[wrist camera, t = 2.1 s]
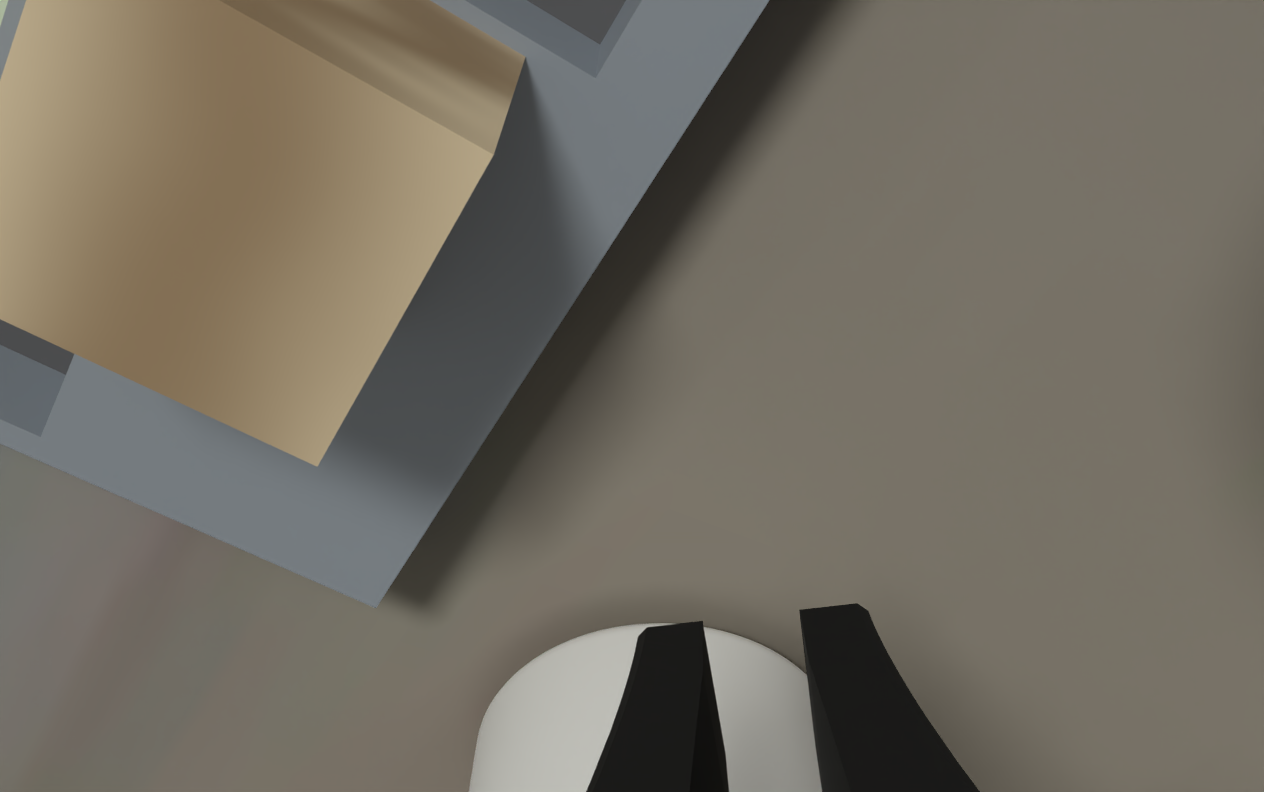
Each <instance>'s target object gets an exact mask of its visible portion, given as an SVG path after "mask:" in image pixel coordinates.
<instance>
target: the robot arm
mask: <svg viewBox="0 0 1264 792" xmlns="http://www.w3.org/2000/svg"><path fill="white" fill-rule="evenodd" d="M799 611H800V619H801V628H802V636H803V645H804V653H805V662H806V671H807V679H808V688H809V696H810V705H811V713H812V722H813V731H814V739H815V747H816V754H817V761H818V767H819V774H820V781H821V788H822V792H980V791H979V790H978V789H977V787H976V786H975V785H974V783H973V782H972V781H971V779H970V778H969V777H968V775H967V774H966V773H965V771H964V770H963V769H962V767H961V766H960V765H959V763H958V762H957V761H956V759H955V758H954V756H953V755H952V753H951V752H950V750H949V749H948V748H947V746H946V745H945V743H944V742H943V740H942V739H941V738H940V736H939V735H938V733H937V732H936V730H935V729H934V727H933V726H932V725H931V723H930V722H929V720H928V719H927V717H926V716H925V714H924V713H923V711H922V710H921V708H920V707H919V705H918V703H917V702H916V700H915V699H914V697H913V696H912V694H911V692H910V691H909V689H908V687H907V686H906V684H905V682H904V681H903V679H902V677H901V676H900V674H899V672H898V671H897V669H896V667H895V665H894V664H893V662H892V660H891V658H890V656H889V655H888V653H887V651H886V649H885V647H884V645H883V643H882V641H881V639H880V637H879V635H878V633H877V631H876V629H875V627H874V624H873V622H872V620H871V617H870V614H869V612H868V610H866V609H865V608H863V607H862V606H860V605H859V604H848V605H839V606H830V607H821V608H812V609H804V610H799ZM586 792H729V785H728V775H727V764H726V753H725V747H724V742H723V736H722V730H721V724H720V719H719V713H718V707H717V701H716V696H715V690H714V684H713V678H712V673H711V667H710V661H709V655H708V650H707V644H706V638H705V632H704V627H703V621H698V622H689V623H680V624H672V625H663V626H654V627H647V628H646V629H645V630H644V631H643V632H642V633H641V634H640V635H639V636H638V638H637V643H636V648H635V653H634V657H633V661H632V665H631V669H630V672H629V676H628V679H627V683H626V686H625V689H624V693H623V696H622V699H621V702H620V705H619V708H618V711H617V713H616V716H615V719H614V722H613V725H612V728H611V731H610V733H609V736H608V738H607V741H606V743H605V746H604V748H603V751H602V753H601V756H600V758H599V761H598V764H597V766H596V769H595V771H594V774H593V776H592V779H591V781H590V784H589V786H588V788H587V791H586Z"/></svg>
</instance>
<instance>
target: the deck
mask: <svg viewBox="0 0 1264 792" xmlns="http://www.w3.org/2000/svg"><path fill="white" fill-rule="evenodd" d="M430 1H432V2H434V3H435V4H437V5H439V6H441V7H442V8H444V9H446V10H447V11H449V12H451V13H452V14H454V15H456V16H457V17H459V18H461V19H462V20H464V21H466V22H468V23H469V24H471V25H473V26H474V27H476V28H478V29H479V30H481V31H483V32H484V33H486V34H488V35H490V36H491V37H493V38H495V39H496V40H498V41H500V42H501V43H503V44H505V45H506V46H508V47H510V48H511V49H513V50H515V51H517V52H518V53H520V54H522V55H523V56H525V60H524V63H523V66H522V69H521V72H520V75H519V78H518V81H517V85H516V88H515V91H514V94H513V97H512V100H511V103H510V106H509V109H508V112H507V115H506V118H505V121H504V125H503V128H502V131H501V134H500V137H499V140H498V143H497V146H496V149H495V152H494V155H493V157H492V159H491V160H490V162H489V164H488V166H487V168H486V169H485V171H484V173H483V175H482V176H481V178H480V180H479V182H478V183H477V185H476V187H475V189H474V191H473V192H472V194H471V196H470V198H469V199H468V201H467V203H466V205H465V206H464V208H463V210H462V212H461V214H460V215H459V217H458V219H457V221H456V222H455V224H454V226H453V228H452V229H451V231H450V233H449V235H448V237H447V238H446V240H445V242H444V244H443V245H442V247H441V249H440V251H439V252H438V254H437V256H436V258H435V260H434V261H433V263H432V265H431V267H430V268H429V270H428V272H427V274H426V275H425V277H424V279H423V281H422V283H421V284H420V286H419V288H418V290H417V291H416V293H415V295H414V297H413V298H412V300H411V302H410V304H409V305H408V307H407V309H406V311H405V313H404V314H403V316H402V318H401V320H400V321H399V323H398V325H397V327H396V328H395V330H394V332H393V334H392V336H391V337H390V339H389V341H388V343H387V344H386V346H385V348H384V350H383V351H382V353H381V355H380V357H379V359H378V360H377V362H376V364H375V366H374V367H373V369H372V371H371V373H370V374H369V376H368V378H367V380H366V382H365V383H364V385H363V387H362V389H361V390H360V392H359V394H358V396H357V397H356V399H355V401H354V403H353V405H352V406H351V408H350V410H349V412H348V413H347V415H346V417H345V419H344V420H343V422H342V424H341V426H340V428H339V429H338V431H337V433H336V435H335V436H334V438H333V440H332V442H331V443H330V445H329V447H328V449H327V451H326V452H325V454H324V456H323V458H322V459H321V461H320V463H319V465H318V466H314V465H312V464H310V463H308V462H306V461H304V460H302V459H299V458H297V457H295V456H293V455H291V454H289V453H287V452H284V451H282V450H280V449H278V448H276V447H274V446H272V445H269V444H267V443H265V442H263V441H261V440H259V439H256V438H254V437H252V436H250V435H248V434H246V433H244V432H241V431H239V430H237V429H235V428H233V427H231V426H229V425H226V424H224V423H222V422H220V421H218V420H216V419H214V418H211V417H209V416H207V415H205V414H203V413H201V412H198V411H196V410H194V409H192V408H190V407H188V406H186V405H183V404H181V403H179V402H177V401H175V400H173V399H171V398H168V397H166V396H164V395H162V394H160V393H158V392H156V391H153V390H151V389H149V388H147V387H145V386H143V385H140V384H138V383H136V382H134V381H132V380H130V379H128V378H125V377H123V376H121V375H119V374H117V373H115V372H113V371H110V370H108V369H106V368H104V367H102V366H100V365H98V364H95V363H93V362H91V361H89V360H87V359H85V358H82V357H80V356H78V355H76V354H74V353H72V352H70V351H67V350H65V349H63V348H61V347H59V346H57V345H55V344H52V343H50V342H48V341H46V340H44V339H42V338H40V337H37V336H35V335H33V334H31V333H29V332H27V331H24V330H22V329H20V328H18V327H16V326H14V325H12V324H9V323H7V322H5V321H3V320H1V319H0V444H2V445H4V446H7V447H9V448H11V449H13V450H16V451H18V452H20V453H23V454H25V455H27V456H29V457H32V458H34V459H36V460H39V461H41V462H43V463H45V464H48V465H50V466H52V467H55V468H57V469H59V470H61V471H64V472H66V473H68V474H71V475H73V476H75V477H77V478H80V479H82V480H84V481H86V482H89V483H91V484H93V485H96V486H98V487H100V488H102V489H105V490H107V491H109V492H112V493H114V494H116V495H118V496H121V497H123V498H125V499H128V500H130V501H132V502H134V503H137V504H139V505H141V506H144V507H146V508H148V509H150V510H153V511H155V512H157V513H160V514H162V515H164V516H166V517H169V518H171V519H173V520H176V521H178V522H180V523H182V524H185V525H187V526H189V527H192V528H194V529H196V530H198V531H201V532H203V533H205V534H208V535H210V536H212V537H214V538H217V539H219V540H221V541H224V542H226V543H228V544H230V545H233V546H235V547H237V548H239V549H242V550H244V551H246V552H249V553H251V554H253V555H255V556H258V557H260V558H262V559H265V560H267V561H269V562H271V563H274V564H276V565H278V566H281V567H283V568H285V569H287V570H290V571H292V572H294V573H297V574H299V575H301V576H303V577H306V578H308V579H310V580H313V581H315V582H317V583H319V584H322V585H324V586H326V587H329V588H331V589H333V590H335V591H338V592H340V593H342V594H345V595H347V596H349V597H351V598H354V599H356V600H358V601H361V602H363V603H365V604H367V605H370V606H372V607H374V608H376V607H377V606H378V604H379V603H380V601H381V600H382V598H383V596H384V595H385V593H386V592H387V590H388V589H389V587H390V586H391V584H392V583H393V581H394V579H395V578H396V576H397V575H398V573H399V572H400V570H401V569H402V567H403V566H404V564H405V562H406V561H407V559H408V558H409V556H410V555H411V553H412V552H413V550H414V549H415V547H416V545H417V544H418V542H419V541H420V539H421V538H422V536H423V535H424V533H425V532H426V530H427V529H428V527H429V525H430V524H431V522H432V521H433V519H434V518H435V516H436V515H437V513H438V512H439V510H440V508H441V507H442V505H443V504H444V502H445V501H446V499H447V498H448V496H449V495H450V493H451V491H452V490H453V488H454V487H455V485H456V484H457V482H458V481H459V479H460V478H461V476H462V474H463V473H464V471H465V470H466V468H467V467H468V465H469V464H470V462H471V461H472V459H473V457H474V456H475V454H476V453H477V451H478V450H479V448H480V447H481V445H482V444H483V442H484V440H485V439H486V437H487V436H488V434H489V433H490V431H491V430H492V428H493V427H494V425H495V423H496V422H497V420H498V419H499V417H500V416H501V414H502V413H503V411H504V410H505V408H506V406H507V405H508V403H509V402H510V400H511V399H512V397H513V396H514V394H515V393H516V391H517V389H518V388H519V386H520V385H521V383H522V382H523V380H524V379H525V377H526V376H527V374H528V372H529V371H530V369H531V368H532V366H533V365H534V363H535V362H536V360H537V359H538V357H539V355H540V354H541V352H542V351H543V349H544V348H545V346H546V345H547V343H548V342H549V340H550V338H551V337H552V335H553V334H554V332H555V331H556V329H557V328H558V326H559V325H560V323H561V321H562V320H563V318H564V317H565V315H566V314H567V312H568V311H569V309H570V308H571V306H572V305H573V303H574V301H575V300H576V298H577V297H578V295H579V294H580V292H581V291H582V289H583V288H584V286H585V284H586V283H587V281H588V280H589V278H590V277H591V275H592V274H593V272H594V271H595V269H596V267H597V266H598V264H599V263H600V261H601V260H602V258H603V257H604V255H605V254H606V252H607V250H608V249H609V247H610V246H611V244H612V243H613V241H614V240H615V238H616V237H617V235H618V233H619V232H620V230H621V229H622V227H623V226H624V224H625V223H626V221H627V220H628V218H629V216H630V215H631V213H632V212H633V210H634V209H635V207H636V206H637V204H638V203H639V201H640V199H641V198H642V196H643V195H644V193H645V192H646V190H647V189H648V187H649V186H650V184H651V182H652V181H653V179H654V178H655V176H656V175H657V173H658V172H659V170H660V169H661V167H662V165H663V164H664V162H665V161H666V159H667V158H668V156H669V155H670V153H671V152H672V150H673V148H674V147H675V145H676V144H677V142H678V141H679V139H680V138H681V136H682V135H683V133H684V131H685V130H686V128H687V127H688V125H689V124H690V122H691V121H692V119H693V118H694V116H695V114H696V113H697V111H698V110H699V108H700V107H701V105H702V104H703V102H704V101H705V99H706V97H707V96H708V94H709V93H710V91H711V90H712V88H713V87H714V85H715V84H716V82H717V80H718V79H719V77H720V76H721V74H722V73H723V71H724V70H725V68H726V67H727V65H728V64H729V62H730V60H731V59H732V57H733V56H734V54H735V53H736V51H737V50H738V48H739V47H740V45H741V43H742V42H743V40H744V39H745V37H746V36H747V34H748V33H749V31H750V30H751V28H752V26H753V25H754V23H755V22H756V20H757V19H758V17H759V16H760V14H761V13H762V11H763V9H764V8H765V6H766V5H767V3H768V2H769V0H430ZM25 2H26V0H0V79H1V76H2V73H3V70H4V67H5V64H6V61H7V58H8V55H9V52H10V48H11V45H12V42H13V39H14V36H15V33H16V30H17V27H18V24H19V21H20V18H21V14H22V11H23V8H24V5H25Z"/></svg>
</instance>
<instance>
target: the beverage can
mask: <svg viewBox="0 0 1264 792" xmlns="http://www.w3.org/2000/svg"><path fill="white" fill-rule="evenodd" d="M672 624H674V623H647V624H634V625H625V626H619V627H613V628H608V629H604V630H599V631H595V632H592V633H588V634H585V635H582V636H579V637H576V638H574V639H571V640H569V641H566V642H564V643H562V644H560V645H557V646H555V647H553V648H551V649H550V650H548V651H546V652H544V653H543V654H541V655H539V656H538V657H536V658H535V659H533V660H532V661H530V662H529V663H528V664H526V665H525V666H524V667H522V668H521V669H520V670H519V671H518V672H517V673H515V674H514V675H513V676H512V677H511V678H510V679H509V680H508V681H507V682H506V684H505V685H504V686H503V687H502V688H501V689H500V691H499V692H498V693H497V695H496V696H495V698H494V699H493V701H492V702H491V704H490V705H489V707H488V709H487V711H486V713H485V715H484V718H483V720H482V723H481V726H480V730H479V734H478V739H477V745H476V751H475V757H474V763H473V769H472V775H471V782H470V788H469V792H586V791H587V788H588V786H589V784H590V781H591V779H592V776H593V774H594V771H595V769H596V766H597V764H598V761H599V758H600V756H601V753H602V751H603V748H604V746H605V743H606V741H607V738H608V736H609V733H610V731H611V728H612V725H613V722H614V719H615V716H616V713H617V711H618V708H619V705H620V702H621V699H622V696H623V693H624V689H625V686H626V683H627V679H628V676H629V672H630V669H631V665H632V661H633V657H634V653H635V648H636V643H637V638H638V636H639V635H640V634H641V633H642V632H643V631H644V630H645V629H646V628H647V627H654V626H663V625H672ZM704 632H705V638H706V644H707V650H708V655H709V661H710V667H711V673H712V678H713V684H714V690H715V696H716V701H717V707H718V713H719V719H720V724H721V730H722V736H723V742H724V747H725V753H726V764H727V775H728V785H729V792H822V788H821V781H820V774H819V767H818V761H817V754H816V747H815V739H814V731H813V722H812V713H811V705H810V696H809V688H808V679H807V675H806V674H805V673H804V672H803V671H802V670H801V669H800V668H798V667H797V666H796V665H794V664H793V663H792V662H790V661H789V660H787V659H786V658H785V657H783V656H781V655H780V654H778V653H776V652H775V651H773V650H771V649H769V648H767V647H765V646H763V645H761V644H759V643H757V642H754V641H752V640H749V639H747V638H744V637H741V636H738V635H735V634H732V633H729V632H725V631H721V630H717V629H713V628H707V627H704Z"/></svg>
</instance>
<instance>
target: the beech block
mask: <svg viewBox="0 0 1264 792" xmlns="http://www.w3.org/2000/svg"><path fill="white" fill-rule="evenodd" d="M524 60H525V56H523V55H522V54H520V53H518V52H517V51H515V50H513V49H511V48H510V47H508V46H506V45H505V44H503V43H501V42H500V41H498V40H496V39H495V38H493V37H491V36H490V35H488V34H486V33H484V32H483V31H481V30H479V29H478V28H476V27H474V26H473V25H471V24H469V23H468V22H466V21H464V20H462V19H461V18H459V17H457V16H456V15H454V14H452V13H451V12H449V11H447V10H446V9H444V8H442V7H441V6H439V5H437V4H435V3H434V2H432V1H430V0H26V2H25V5H24V8H23V11H22V14H21V18H20V21H19V24H18V27H17V30H16V33H15V36H14V39H13V42H12V45H11V48H10V52H9V55H8V58H7V61H6V64H5V67H4V70H3V73H2V76H1V79H0V319H1V320H3V321H5V322H7V323H9V324H12V325H14V326H16V327H18V328H20V329H22V330H24V331H27V332H29V333H31V334H33V335H35V336H37V337H40V338H42V339H44V340H46V341H48V342H50V343H52V344H55V345H57V346H59V347H61V348H63V349H65V350H67V351H70V352H72V353H74V354H76V355H78V356H80V357H82V358H85V359H87V360H89V361H91V362H93V363H95V364H98V365H100V366H102V367H104V368H106V369H108V370H110V371H113V372H115V373H117V374H119V375H121V376H123V377H125V378H128V379H130V380H132V381H134V382H136V383H138V384H140V385H143V386H145V387H147V388H149V389H151V390H153V391H156V392H158V393H160V394H162V395H164V396H166V397H168V398H171V399H173V400H175V401H177V402H179V403H181V404H183V405H186V406H188V407H190V408H192V409H194V410H196V411H198V412H201V413H203V414H205V415H207V416H209V417H211V418H214V419H216V420H218V421H220V422H222V423H224V424H226V425H229V426H231V427H233V428H235V429H237V430H239V431H241V432H244V433H246V434H248V435H250V436H252V437H254V438H256V439H259V440H261V441H263V442H265V443H267V444H269V445H272V446H274V447H276V448H278V449H280V450H282V451H284V452H287V453H289V454H291V455H293V456H295V457H297V458H299V459H302V460H304V461H306V462H308V463H310V464H312V465H314V466H318V465H319V463H320V461H321V459H322V458H323V456H324V454H325V452H326V451H327V449H328V447H329V445H330V443H331V442H332V440H333V438H334V436H335V435H336V433H337V431H338V429H339V428H340V426H341V424H342V422H343V420H344V419H345V417H346V415H347V413H348V412H349V410H350V408H351V406H352V405H353V403H354V401H355V399H356V397H357V396H358V394H359V392H360V390H361V389H362V387H363V385H364V383H365V382H366V380H367V378H368V376H369V374H370V373H371V371H372V369H373V367H374V366H375V364H376V362H377V360H378V359H379V357H380V355H381V353H382V351H383V350H384V348H385V346H386V344H387V343H388V341H389V339H390V337H391V336H392V334H393V332H394V330H395V328H396V327H397V325H398V323H399V321H400V320H401V318H402V316H403V314H404V313H405V311H406V309H407V307H408V305H409V304H410V302H411V300H412V298H413V297H414V295H415V293H416V291H417V290H418V288H419V286H420V284H421V283H422V281H423V279H424V277H425V275H426V274H427V272H428V270H429V268H430V267H431V265H432V263H433V261H434V260H435V258H436V256H437V254H438V252H439V251H440V249H441V247H442V245H443V244H444V242H445V240H446V238H447V237H448V235H449V233H450V231H451V229H452V228H453V226H454V224H455V222H456V221H457V219H458V217H459V215H460V214H461V212H462V210H463V208H464V206H465V205H466V203H467V201H468V199H469V198H470V196H471V194H472V192H473V191H474V189H475V187H476V185H477V183H478V182H479V180H480V178H481V176H482V175H483V173H484V171H485V169H486V168H487V166H488V164H489V162H490V160H491V159H492V157H493V155H494V152H495V149H496V146H497V143H498V140H499V137H500V134H501V131H502V128H503V125H504V121H505V118H506V115H507V112H508V109H509V106H510V103H511V100H512V97H513V94H514V91H515V88H516V85H517V81H518V78H519V75H520V72H521V69H522V66H523V63H524Z"/></svg>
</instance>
